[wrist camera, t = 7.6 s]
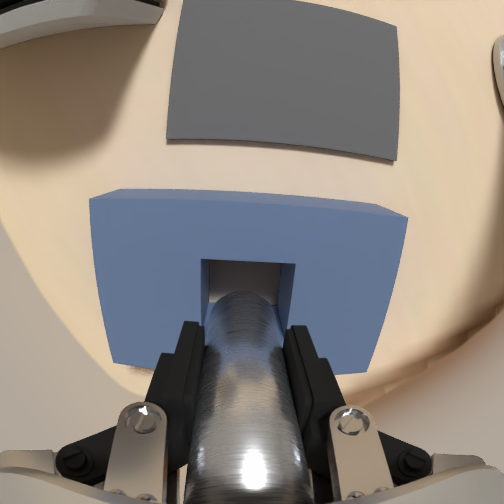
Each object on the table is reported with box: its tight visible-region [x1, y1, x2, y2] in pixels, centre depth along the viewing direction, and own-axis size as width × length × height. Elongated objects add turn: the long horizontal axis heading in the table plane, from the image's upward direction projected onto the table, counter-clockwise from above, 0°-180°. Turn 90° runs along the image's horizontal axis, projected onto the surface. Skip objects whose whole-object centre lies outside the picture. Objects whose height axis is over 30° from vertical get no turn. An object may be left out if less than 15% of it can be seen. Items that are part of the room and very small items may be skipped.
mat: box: [166, 0, 400, 161], centre depth 14 cm, size 14×10×1 cm
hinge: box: [0, 0, 164, 49], centre depth 8 cm, size 17×5×10 cm, turn 78°
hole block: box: [89, 189, 408, 375], centre depth 16 cm, size 16×10×4 cm, turn 86°
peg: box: [183, 292, 315, 504], centre depth 8 cm, size 3×3×10 cm
